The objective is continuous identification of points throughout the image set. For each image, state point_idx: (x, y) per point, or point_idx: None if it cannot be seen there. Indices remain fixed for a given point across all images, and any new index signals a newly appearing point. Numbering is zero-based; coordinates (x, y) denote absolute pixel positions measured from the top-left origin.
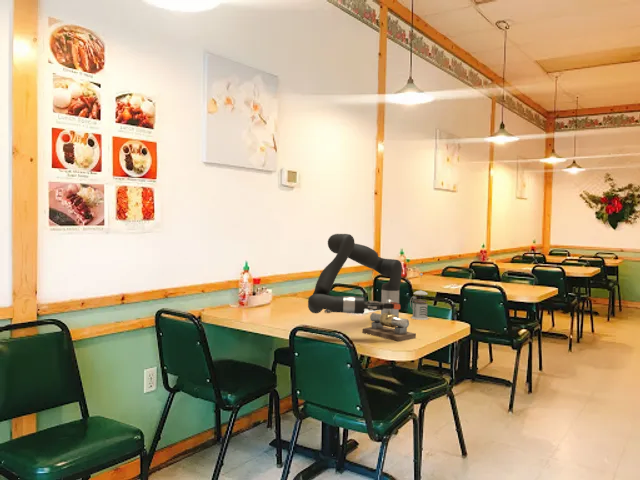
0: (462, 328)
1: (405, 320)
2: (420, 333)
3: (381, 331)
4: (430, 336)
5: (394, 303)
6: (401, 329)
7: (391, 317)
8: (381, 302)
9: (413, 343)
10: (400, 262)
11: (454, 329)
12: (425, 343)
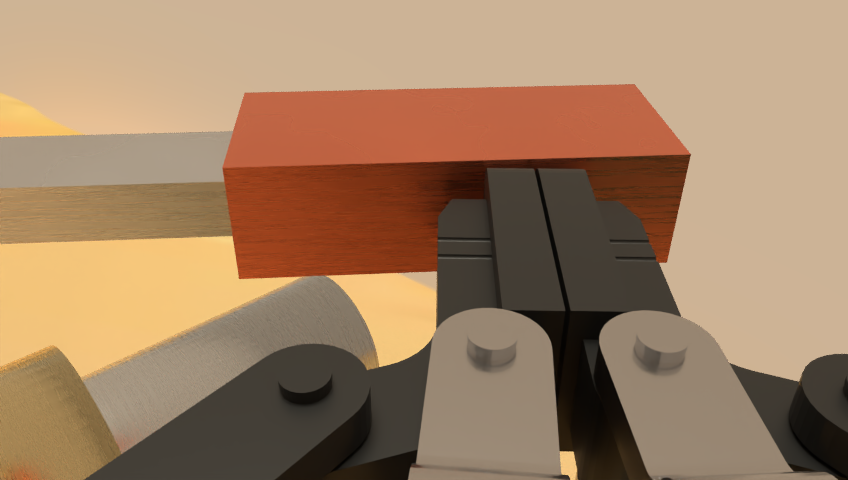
0: (4, 97)
1: (347, 304)
2: (71, 314)
3: None
4: (224, 272)
5: (456, 131)
6: None
7: (119, 450)
8: (359, 366)
9: (563, 451)
10: None
11: (15, 127)
12: None
